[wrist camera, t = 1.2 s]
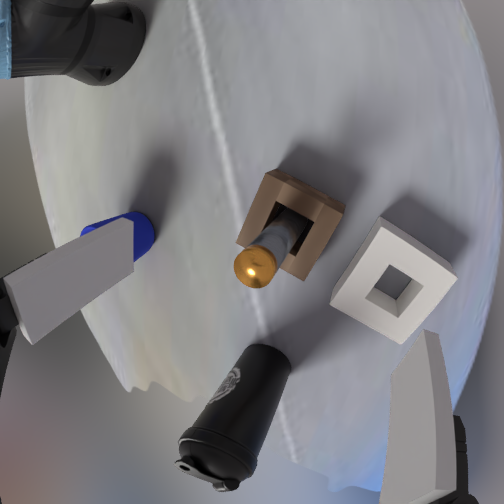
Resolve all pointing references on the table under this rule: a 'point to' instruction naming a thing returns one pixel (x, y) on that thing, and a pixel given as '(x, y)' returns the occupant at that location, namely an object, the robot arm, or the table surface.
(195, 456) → the water bottle
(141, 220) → the mug
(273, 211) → the mount block
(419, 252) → the dock block
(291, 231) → the pin
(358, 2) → the table surface
